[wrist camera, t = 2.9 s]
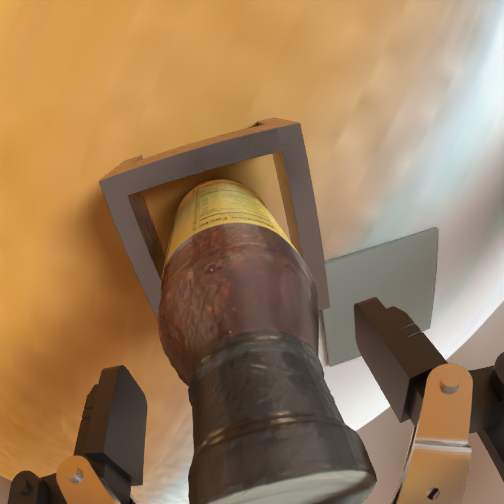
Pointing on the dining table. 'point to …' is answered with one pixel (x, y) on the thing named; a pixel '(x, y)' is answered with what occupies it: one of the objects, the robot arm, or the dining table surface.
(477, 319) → the dining table surface
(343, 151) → the dining table surface
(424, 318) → the slate mat
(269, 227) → the sauce bottle
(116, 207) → the grey square frame stand
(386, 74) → the dining table surface
